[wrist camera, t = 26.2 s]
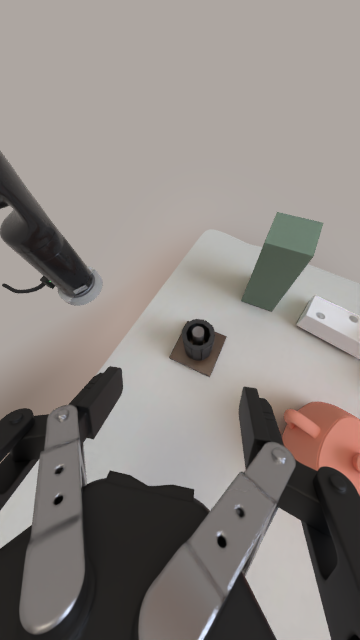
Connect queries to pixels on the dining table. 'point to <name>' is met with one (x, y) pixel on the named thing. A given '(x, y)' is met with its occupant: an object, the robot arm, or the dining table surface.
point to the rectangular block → (282, 259)
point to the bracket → (332, 324)
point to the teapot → (324, 438)
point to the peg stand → (198, 339)
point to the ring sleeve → (195, 350)
